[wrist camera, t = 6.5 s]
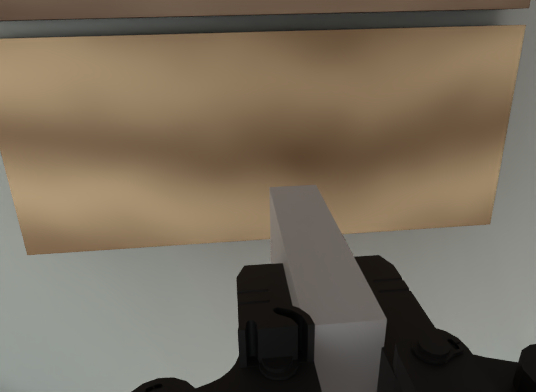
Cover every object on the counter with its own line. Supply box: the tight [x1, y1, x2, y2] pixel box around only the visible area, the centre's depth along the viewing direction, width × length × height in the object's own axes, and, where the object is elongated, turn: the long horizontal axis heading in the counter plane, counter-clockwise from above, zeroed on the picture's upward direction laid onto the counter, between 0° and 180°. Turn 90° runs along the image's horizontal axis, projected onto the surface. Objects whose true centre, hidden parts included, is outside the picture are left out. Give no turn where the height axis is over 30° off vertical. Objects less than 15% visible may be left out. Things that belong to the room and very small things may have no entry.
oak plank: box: [0, 25, 526, 255], centre depth 21 cm, size 10×24×2 cm, turn 91°
